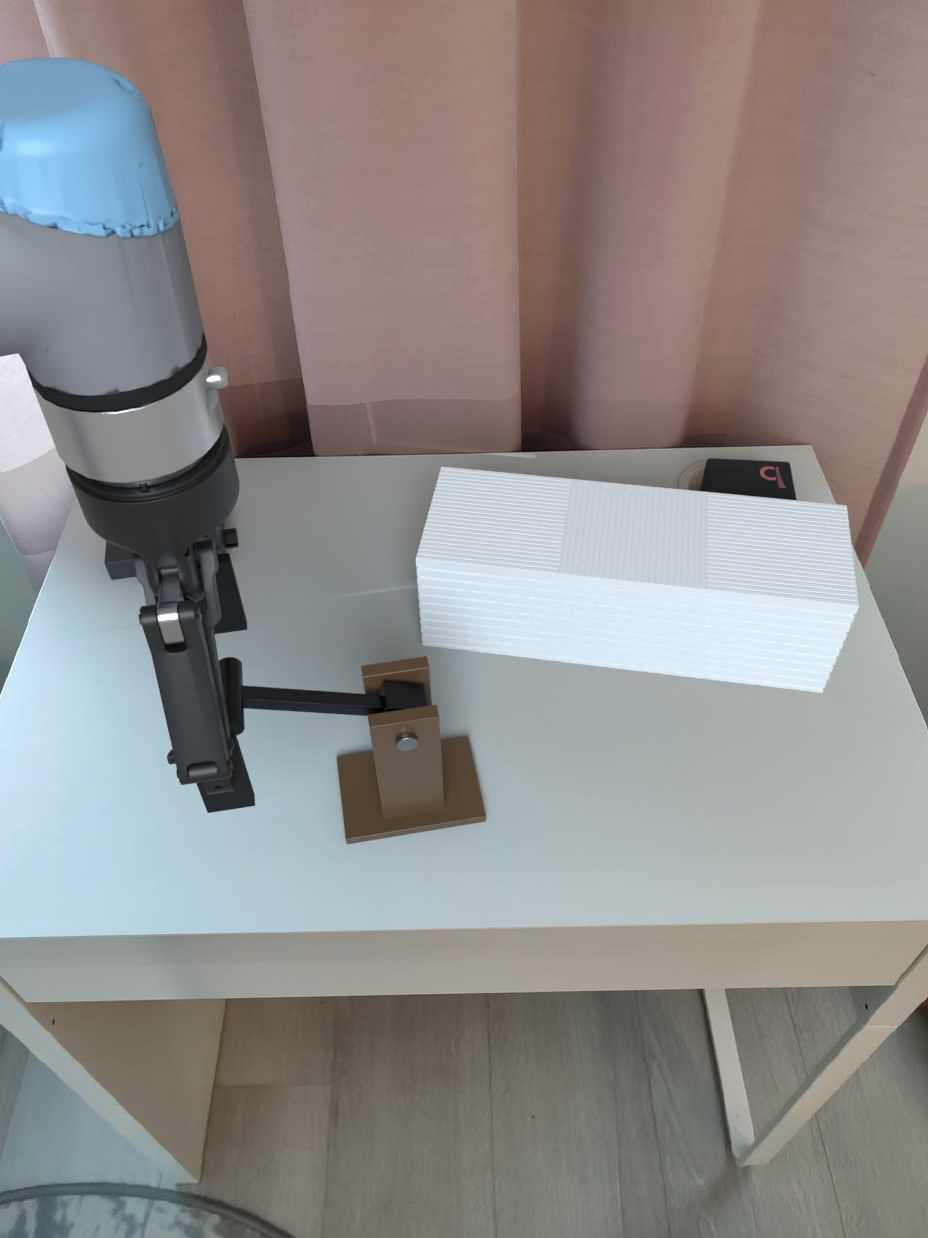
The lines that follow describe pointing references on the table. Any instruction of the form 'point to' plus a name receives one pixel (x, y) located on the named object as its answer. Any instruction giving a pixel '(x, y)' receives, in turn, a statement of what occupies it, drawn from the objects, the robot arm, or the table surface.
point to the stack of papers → (637, 577)
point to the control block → (123, 561)
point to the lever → (310, 698)
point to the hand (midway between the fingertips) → (229, 710)
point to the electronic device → (749, 478)
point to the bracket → (407, 767)
